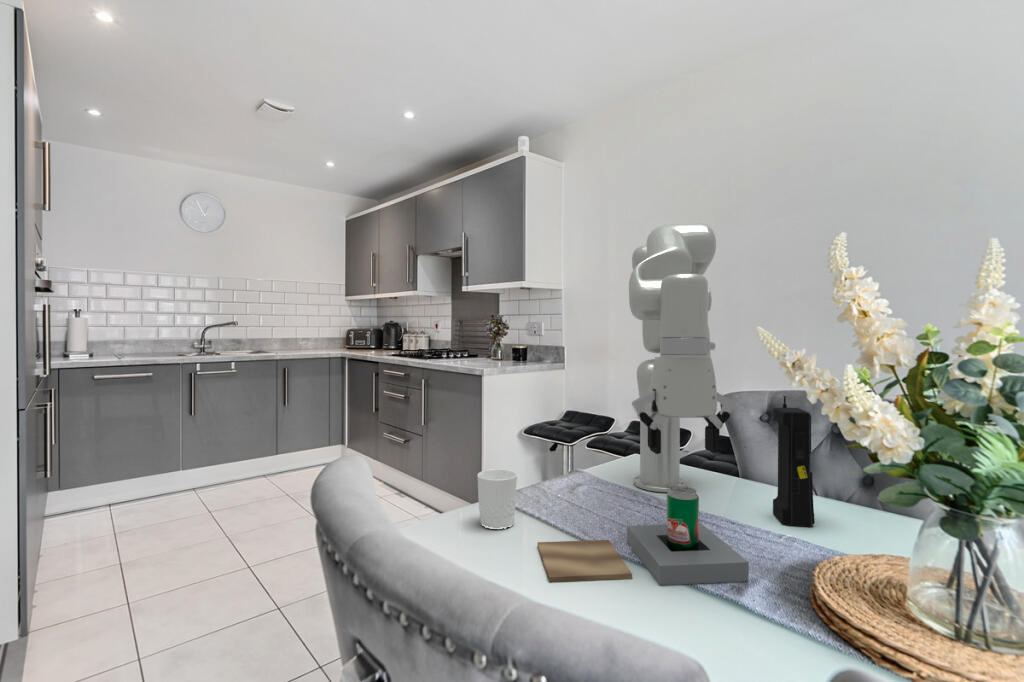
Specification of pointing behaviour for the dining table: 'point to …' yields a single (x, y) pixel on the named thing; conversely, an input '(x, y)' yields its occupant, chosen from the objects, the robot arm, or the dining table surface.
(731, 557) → the socket block
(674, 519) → the soda can
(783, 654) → the dining table surface
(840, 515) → the dining table surface
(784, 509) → the portable radio
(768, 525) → the dining table surface
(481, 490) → the white cup
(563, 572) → the walnut pad
